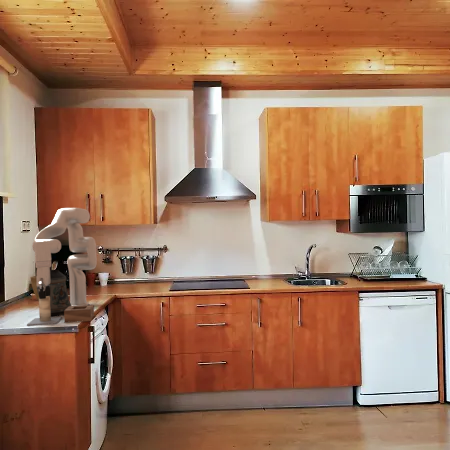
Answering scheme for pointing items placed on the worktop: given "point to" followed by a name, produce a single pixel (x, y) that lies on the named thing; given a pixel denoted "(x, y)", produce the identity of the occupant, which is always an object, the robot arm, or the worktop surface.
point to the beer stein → (58, 293)
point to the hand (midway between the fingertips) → (45, 296)
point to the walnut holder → (79, 313)
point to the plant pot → (35, 286)
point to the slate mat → (37, 321)
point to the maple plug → (44, 309)
